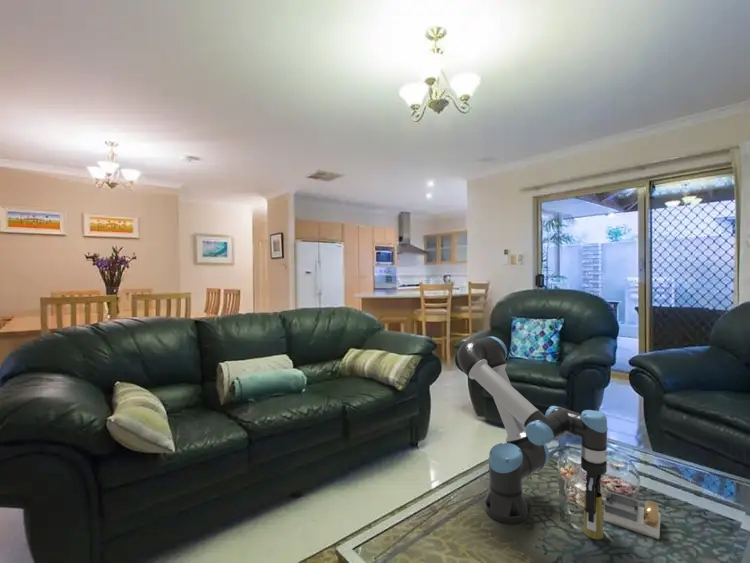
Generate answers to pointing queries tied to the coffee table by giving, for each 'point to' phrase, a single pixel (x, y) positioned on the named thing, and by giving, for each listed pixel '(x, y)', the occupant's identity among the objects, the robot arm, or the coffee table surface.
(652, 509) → the white holder stand
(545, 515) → the coffee table surface
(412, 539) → the coffee table surface
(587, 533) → the vase
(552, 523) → the coffee table surface
